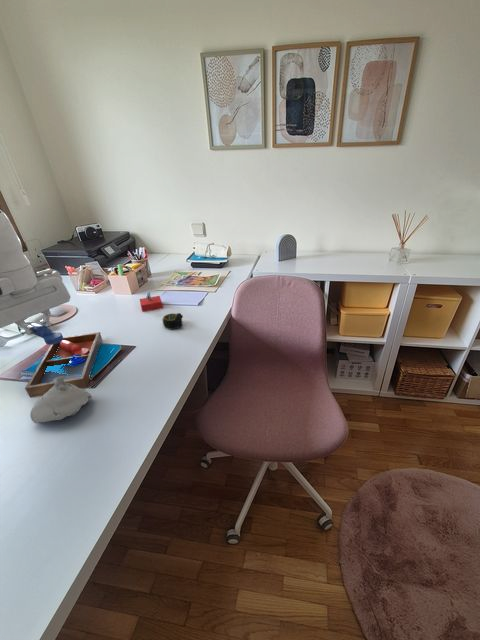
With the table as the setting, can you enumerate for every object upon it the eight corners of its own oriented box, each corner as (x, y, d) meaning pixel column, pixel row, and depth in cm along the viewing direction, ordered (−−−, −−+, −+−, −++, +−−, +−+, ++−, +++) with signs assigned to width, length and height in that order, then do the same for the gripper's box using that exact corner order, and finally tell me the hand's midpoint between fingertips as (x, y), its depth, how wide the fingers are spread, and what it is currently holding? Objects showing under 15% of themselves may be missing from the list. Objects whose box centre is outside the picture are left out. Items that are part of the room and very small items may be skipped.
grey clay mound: (70, 402, 80) (66, 365, 77) (103, 414, 76) (100, 375, 73) (21, 423, 69) (14, 381, 66) (57, 438, 65) (51, 395, 62)
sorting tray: (30, 397, 78) (24, 388, 76) (58, 346, 99) (54, 338, 97) (86, 387, 81) (82, 378, 79) (102, 340, 102) (99, 332, 100)
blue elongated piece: (26, 335, 80) (21, 326, 78) (41, 328, 83) (37, 319, 81) (51, 346, 75) (46, 336, 74) (66, 339, 78) (62, 329, 76)
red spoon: (58, 350, 95) (54, 342, 94) (70, 344, 98) (66, 336, 97) (80, 360, 90) (77, 352, 89) (92, 353, 93) (89, 346, 92)
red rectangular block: (142, 311, 119) (138, 297, 116) (141, 305, 124) (137, 290, 121) (163, 308, 122) (159, 293, 118) (160, 301, 127) (157, 287, 123)
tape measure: (182, 329, 107) (180, 320, 104) (162, 331, 106) (160, 322, 104) (183, 320, 112) (182, 311, 110) (164, 322, 111) (162, 313, 109)
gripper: (50, 264, 80) (69, 311, 88) (-44, 291, 65) (-11, 345, 73) (64, 268, 77) (83, 316, 85) (-31, 297, 63) (2, 351, 70)
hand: (39, 329), depth 79 cm, fingers closed on blue elongated piece, 3 cm apart
